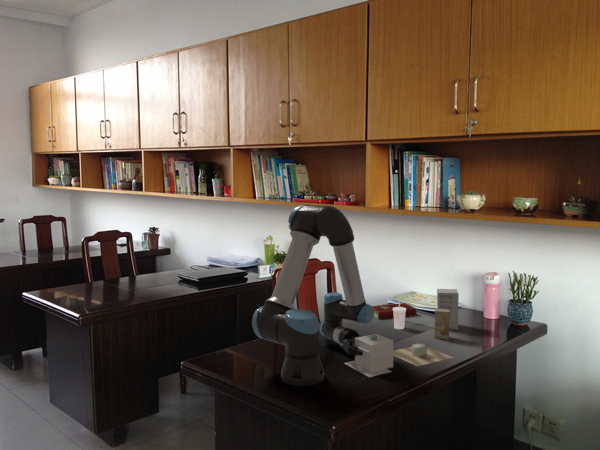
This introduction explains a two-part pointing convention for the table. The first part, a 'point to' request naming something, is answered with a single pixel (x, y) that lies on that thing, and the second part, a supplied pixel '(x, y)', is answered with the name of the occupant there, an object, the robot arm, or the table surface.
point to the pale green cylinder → (419, 350)
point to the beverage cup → (399, 317)
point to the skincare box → (441, 324)
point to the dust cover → (375, 352)
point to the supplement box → (449, 304)
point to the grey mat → (365, 372)
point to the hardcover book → (387, 310)
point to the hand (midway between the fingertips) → (381, 353)
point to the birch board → (418, 361)
